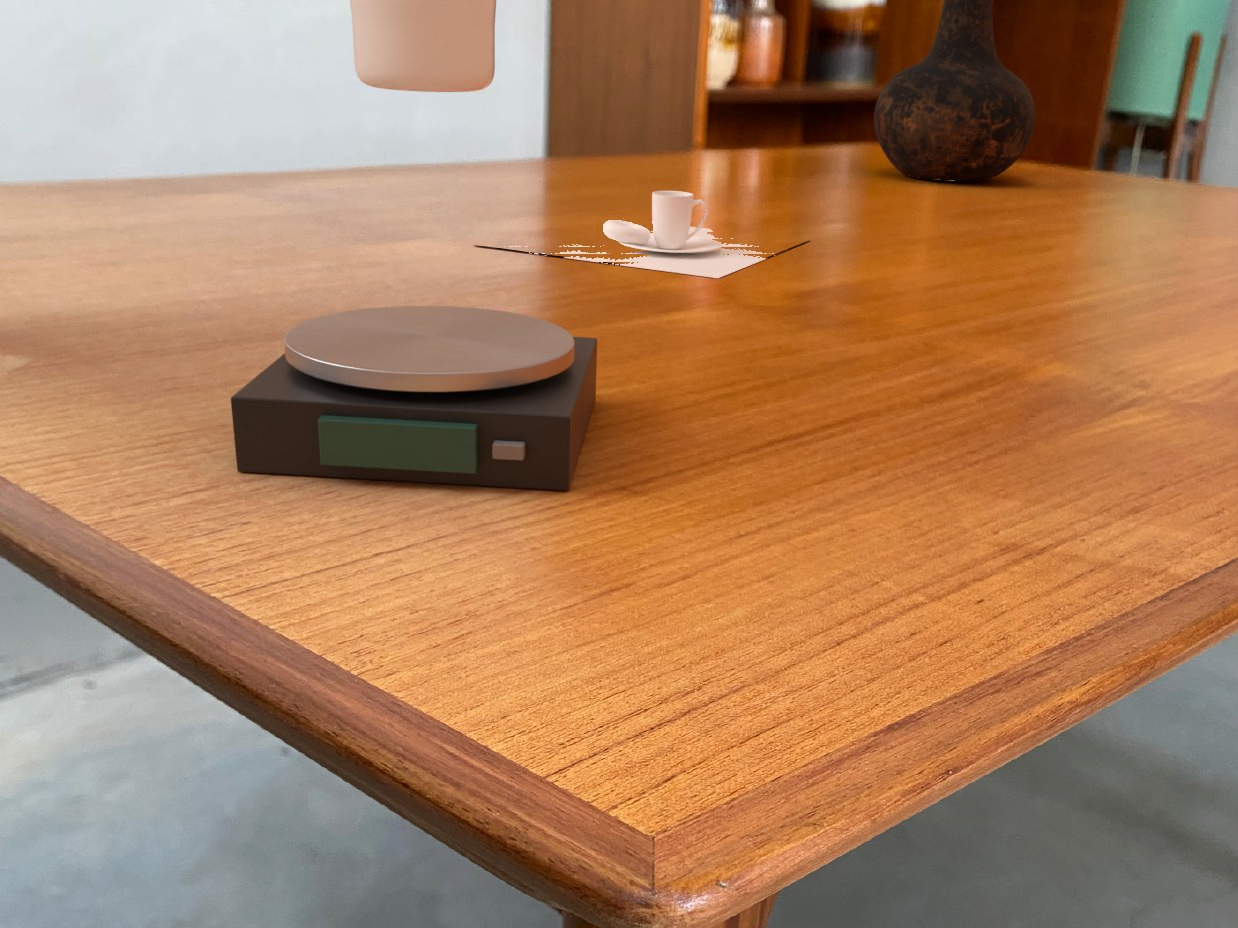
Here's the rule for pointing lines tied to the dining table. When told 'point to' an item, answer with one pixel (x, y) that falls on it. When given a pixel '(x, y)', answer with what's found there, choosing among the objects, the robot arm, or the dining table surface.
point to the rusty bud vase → (956, 104)
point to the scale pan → (429, 349)
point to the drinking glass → (424, 44)
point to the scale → (417, 429)
